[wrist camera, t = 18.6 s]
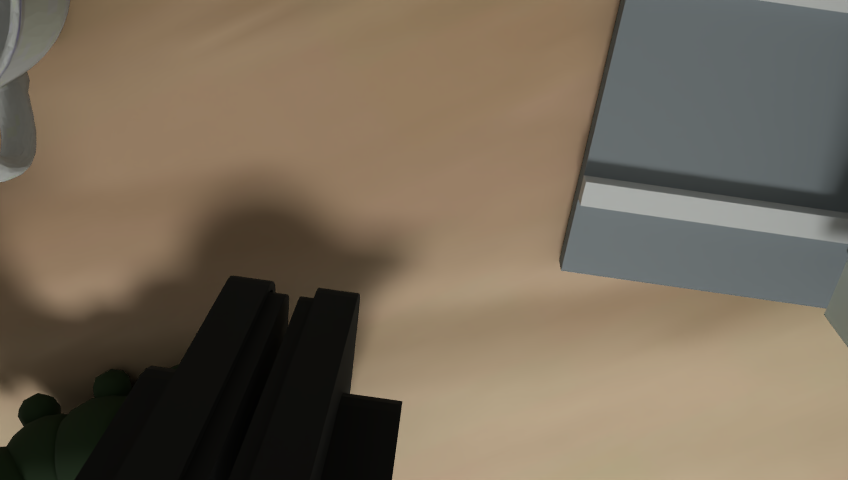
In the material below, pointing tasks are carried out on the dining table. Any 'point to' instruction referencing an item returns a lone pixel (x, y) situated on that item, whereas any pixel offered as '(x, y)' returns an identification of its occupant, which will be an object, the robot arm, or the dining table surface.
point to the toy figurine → (62, 432)
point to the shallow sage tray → (840, 306)
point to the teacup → (23, 74)
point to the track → (719, 150)
